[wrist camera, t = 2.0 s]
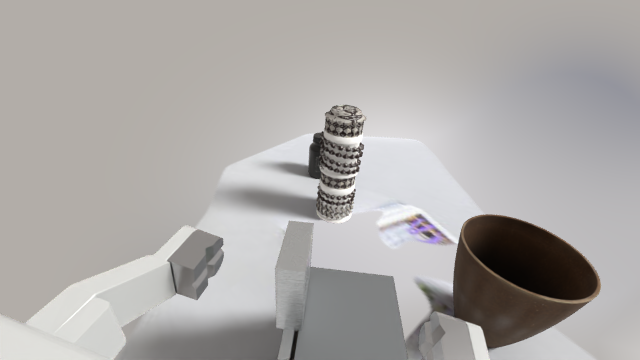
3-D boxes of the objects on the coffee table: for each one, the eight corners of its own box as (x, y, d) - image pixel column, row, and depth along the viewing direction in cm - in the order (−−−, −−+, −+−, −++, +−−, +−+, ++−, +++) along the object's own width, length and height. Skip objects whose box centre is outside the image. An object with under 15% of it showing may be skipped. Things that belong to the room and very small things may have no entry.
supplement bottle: (335, 172, 82) (339, 135, 76) (323, 182, 77) (326, 142, 71) (316, 166, 85) (318, 129, 79) (303, 174, 80) (305, 135, 74)
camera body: (384, 485, 27) (420, 430, 20) (284, 470, 28) (284, 411, 20) (371, 329, 41) (390, 263, 34) (305, 320, 41) (310, 254, 34)
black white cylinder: (309, 204, 67) (315, 102, 55) (342, 198, 71) (356, 101, 58) (322, 227, 60) (333, 116, 47) (359, 220, 63) (379, 114, 51)
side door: (291, 437, 28) (297, 320, 18) (269, 434, 28) (261, 315, 18) (304, 340, 37) (313, 223, 27) (287, 338, 37) (289, 220, 27)
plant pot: (495, 401, 34) (561, 325, 26) (409, 304, 45) (437, 229, 37) (555, 346, 41) (623, 273, 32) (467, 273, 52) (502, 204, 44)
